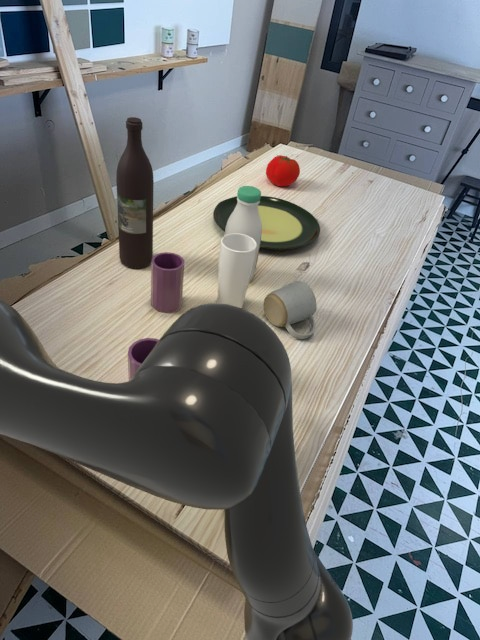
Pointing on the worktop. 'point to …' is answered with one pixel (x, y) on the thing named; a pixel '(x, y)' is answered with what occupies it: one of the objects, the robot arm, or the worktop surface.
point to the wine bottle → (135, 200)
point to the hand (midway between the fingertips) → (226, 377)
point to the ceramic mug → (291, 307)
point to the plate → (276, 222)
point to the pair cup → (139, 354)
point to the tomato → (282, 171)
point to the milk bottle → (247, 217)
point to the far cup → (167, 282)
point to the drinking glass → (235, 268)
